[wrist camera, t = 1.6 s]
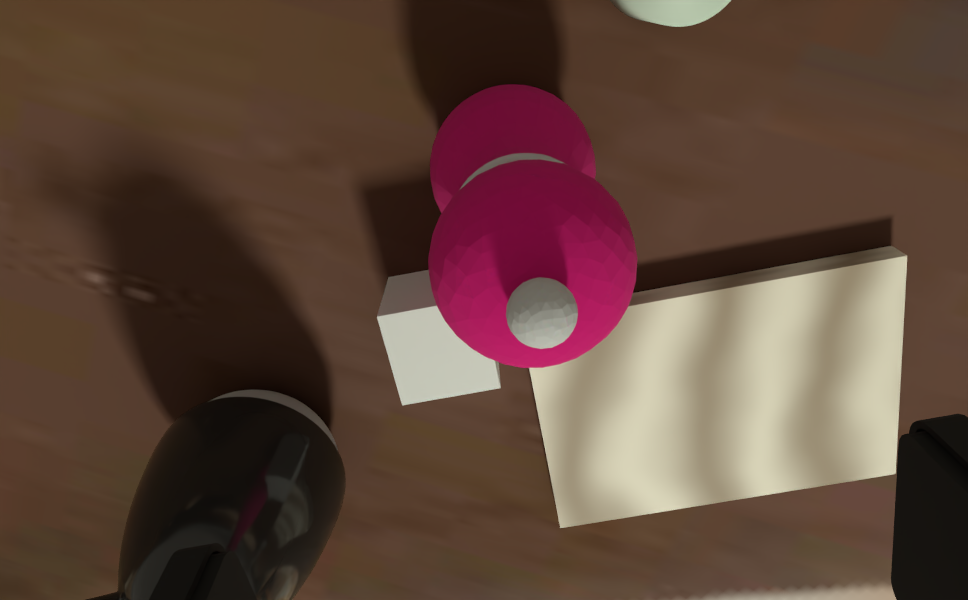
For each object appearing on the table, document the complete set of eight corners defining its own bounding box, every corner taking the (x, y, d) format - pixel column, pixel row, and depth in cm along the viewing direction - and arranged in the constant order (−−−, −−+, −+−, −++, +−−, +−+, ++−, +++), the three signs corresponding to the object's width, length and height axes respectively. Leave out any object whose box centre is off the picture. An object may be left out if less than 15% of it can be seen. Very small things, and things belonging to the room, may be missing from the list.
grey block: (480, 259, 37) (480, 297, 33) (497, 341, 39) (500, 388, 35) (388, 276, 38) (377, 316, 33) (410, 357, 40) (402, 405, 35)
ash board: (891, 245, 37) (907, 255, 36) (882, 458, 43) (895, 473, 41) (519, 313, 39) (520, 325, 37) (557, 511, 44) (560, 528, 43)
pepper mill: (406, 162, 35) (332, 355, 17) (494, 40, 33) (521, 110, 15) (519, 245, 37) (563, 499, 19) (610, 135, 35) (763, 302, 16)
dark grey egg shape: (179, 348, 39) (17, 547, 25) (365, 377, 40) (308, 584, 26) (177, 492, 43) (37, 732, 29) (346, 515, 44) (287, 758, 30)
